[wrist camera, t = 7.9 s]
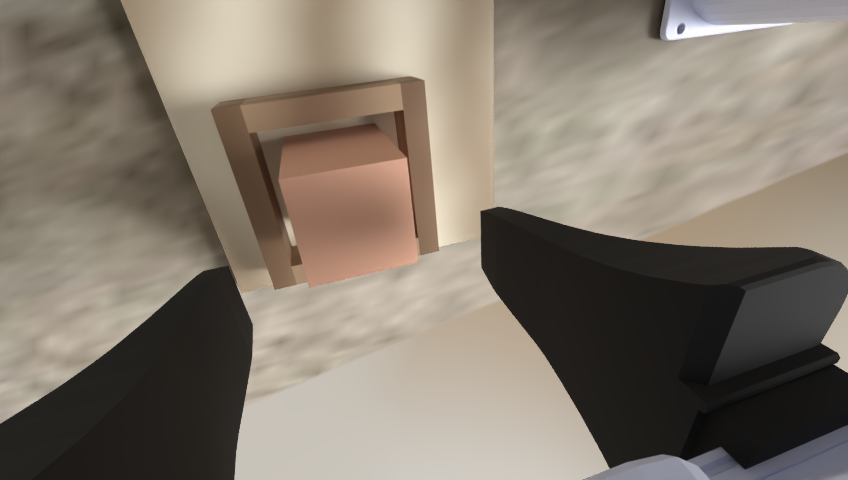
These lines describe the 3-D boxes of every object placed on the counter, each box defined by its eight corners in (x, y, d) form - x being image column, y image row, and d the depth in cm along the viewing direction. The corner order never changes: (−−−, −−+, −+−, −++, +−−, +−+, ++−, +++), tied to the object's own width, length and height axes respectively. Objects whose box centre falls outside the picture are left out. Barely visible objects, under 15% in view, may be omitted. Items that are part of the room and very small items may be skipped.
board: (480, -284, 13) (525, -363, 11) (486, 226, 23) (510, 250, 20) (1, -319, 10) (-97, -439, 8) (244, 282, 20) (236, 317, 17)
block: (374, 123, 17) (406, 158, 12) (386, 203, 19) (418, 262, 14) (284, 136, 16) (278, 180, 11) (306, 218, 18) (309, 287, 13)
